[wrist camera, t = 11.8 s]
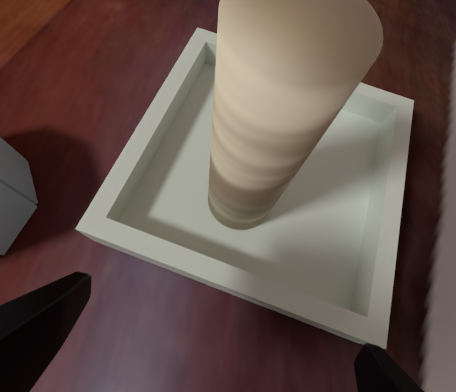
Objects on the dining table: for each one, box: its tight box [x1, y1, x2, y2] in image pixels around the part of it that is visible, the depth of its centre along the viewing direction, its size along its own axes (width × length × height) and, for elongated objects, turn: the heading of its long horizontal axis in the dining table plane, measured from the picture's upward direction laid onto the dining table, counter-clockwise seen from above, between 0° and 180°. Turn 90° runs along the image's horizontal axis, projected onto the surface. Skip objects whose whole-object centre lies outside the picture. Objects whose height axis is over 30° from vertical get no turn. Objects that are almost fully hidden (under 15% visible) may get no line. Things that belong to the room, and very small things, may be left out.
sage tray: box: [75, 27, 414, 349], centre depth 20 cm, size 18×18×3 cm
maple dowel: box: [208, 0, 383, 230], centre depth 13 cm, size 4×4×13 cm
